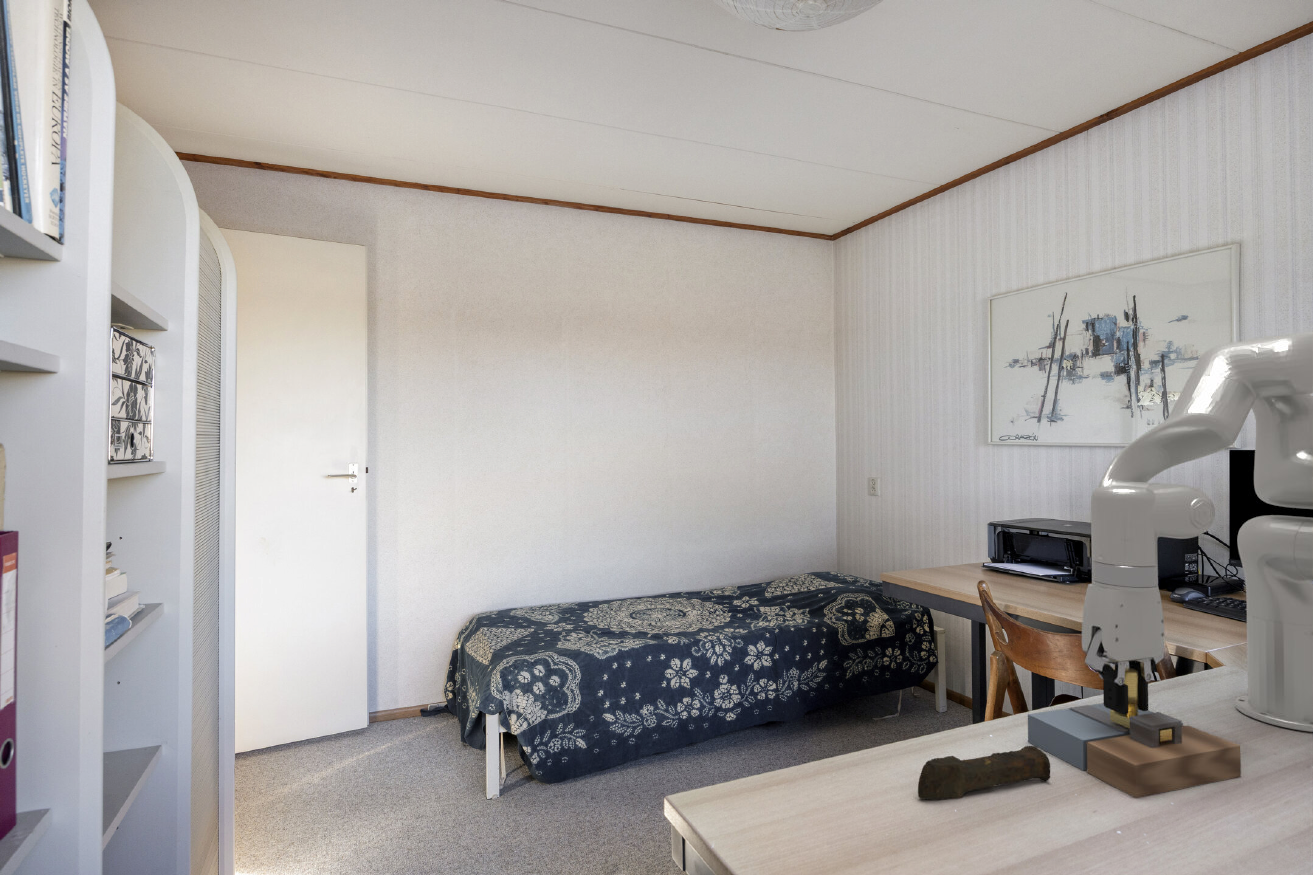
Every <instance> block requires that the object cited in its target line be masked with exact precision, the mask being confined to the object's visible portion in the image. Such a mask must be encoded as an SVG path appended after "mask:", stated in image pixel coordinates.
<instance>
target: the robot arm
mask: <svg viewBox="0 0 1313 875" xmlns="http://www.w3.org/2000/svg"><path fill="white" fill-rule="evenodd" d="M1196 361H1197V362H1196V363H1195V366H1194V367H1193V369H1192V371H1191V373H1190V375H1189V377H1188V379H1187V380H1186V381H1185V384H1184V387H1183V388H1182V390H1181V391H1180V394H1179V396H1178V398H1177V400H1176V402H1175V404H1174V405H1173V407H1172V409H1171V411H1170V413H1169V416H1168V417H1167V418H1166V419H1165V420H1164V421H1163V422H1160V423H1159V424H1157V425H1156V426H1153V427H1152V428H1151V429H1149V430H1147V431H1146V432H1145V433H1143V434H1142V435H1140V436H1139V437H1138V438H1136V439H1134V440H1133V441H1132V442H1130V443H1129V444H1127V445H1126V446H1125V447H1123V448H1122V449H1121V450H1120V451H1119V452H1118V453H1117V454H1116V455H1115V456H1114V458H1113V459H1112V460H1111V461H1110V463H1109V464H1108V466H1107V468H1106V469H1105V472H1104V474H1103V476H1102V478H1101V480H1100V481H1099V483H1098V485H1097V488H1095V489H1094V490H1093V491H1092V493H1091V496H1090V498H1091V500H1090V512H1091V513H1090V519H1091V520H1090V521H1091V522H1090V524H1091V526H1090V527H1091V528H1090V529H1091V534H1090V536H1091V537H1090V538H1091V583H1089V584H1088V585H1087V588H1086V593H1085V597H1084V602H1083V603H1084V604H1083V612H1082V621H1081V622H1082V623H1081V647H1082V651H1083V652H1084V653H1085V654H1086V656H1085V658H1084V663H1085V665H1087V666H1089V667H1091V668H1092V669H1094V670H1096V672H1097V673H1098V675H1099V678H1100V679H1102V682H1103V683H1102V684H1103V686H1102V688H1103V689H1102V690H1103V694H1102V695H1103V698H1102V699H1103V703H1104V706H1105V707H1106V708H1108V709H1111V710H1113V711H1116V712H1118V713H1121V714H1128V685H1126V684H1124V679H1125V667H1127V668H1131V669H1134V670H1136V671H1138V709H1139V710H1141V711H1148V710H1149V682H1151V680H1152V676H1153V675H1152V671H1153V670H1154V669H1155V667H1156V665H1157V664H1158V663H1159V662H1160V661H1162V660H1163V659H1164V657H1165V652H1164V650H1165V640H1166V639H1165V636H1166V635H1165V622H1164V611H1163V604H1162V603H1163V602H1162V598H1161V593H1160V589H1159V577H1158V576H1159V569H1158V568H1159V567H1158V566H1159V564H1158V563H1159V562H1158V538H1161V537H1162V538H1171V539H1180V540H1181V539H1182V540H1183V539H1191V538H1196V537H1198V536H1200V535H1202V534H1205V532H1207V531H1208V530H1209V529H1210V527H1211V526H1212V525H1213V523H1214V520H1215V517H1216V512H1215V510H1216V508H1215V505H1214V503H1213V500H1212V499H1211V498H1210V496H1209V495H1207V493H1206V492H1204V491H1202V490H1201V489H1200V488H1196V487H1194V486H1191V485H1185V484H1177V483H1175V484H1174V483H1159V482H1150V481H1151V480H1152V479H1153V478H1154V477H1155V476H1157V475H1159V474H1160V473H1162V472H1164V471H1165V470H1168V469H1171V468H1173V467H1175V466H1180V465H1182V464H1184V463H1188V462H1191V461H1195V460H1197V459H1198V460H1199V459H1201V458H1204V457H1207V456H1211V455H1213V454H1217V453H1219V452H1221V451H1224V450H1226V449H1227V448H1229V447H1231V446H1232V445H1233V444H1234V443H1235V442H1236V440H1237V438H1238V436H1239V434H1240V432H1241V430H1242V428H1243V426H1244V423H1245V422H1246V419H1248V416H1249V414H1250V411H1251V410H1252V412H1253V414H1254V418H1255V445H1254V446H1255V449H1254V450H1255V451H1254V466H1253V468H1254V469H1253V486H1254V491H1255V494H1256V495H1257V497H1258V498H1259V499H1260V500H1261V501H1263V502H1264V503H1266V504H1269V505H1273V506H1276V507H1277V506H1278V507H1284V508H1292V509H1295V508H1296V509H1304V510H1305V509H1308V510H1309V509H1310V510H1313V395H1312V394H1313V330H1312V331H1305V332H1296V333H1288V334H1287V333H1286V334H1278V335H1271V336H1263V337H1258V338H1256V337H1255V338H1251V339H1247V340H1244V341H1233V342H1227V343H1224V344H1219V345H1215V346H1214V347H1211V348H1209V349H1208V350H1206V351H1205V352H1204V353H1203V354H1202V355H1201V356H1200V357H1199V358H1198V360H1196ZM1237 550H1238V555H1239V558H1240V561H1241V565H1242V571H1243V574H1244V582H1245V593H1246V594H1245V595H1246V596H1245V597H1246V645H1247V646H1246V654H1247V657H1246V658H1247V661H1246V662H1247V694H1246V695H1245V694H1244V695H1241V696H1238V697H1236V699H1235V701H1234V703H1235V707H1236V710H1238V711H1239V712H1241V713H1242V714H1243V715H1246V716H1247V717H1249V718H1252V719H1255V720H1257V721H1260V722H1264V723H1267V724H1270V725H1273V726H1277V727H1280V728H1286V729H1291V730H1297V731H1300V732H1301V731H1302V732H1311V733H1313V517H1309V516H1308V517H1305V516H1293V515H1280V514H1279V515H1278V514H1276V515H1274V514H1271V515H1260V516H1256V517H1253V518H1251V519H1248V520H1247V521H1245V522H1244V523H1243V524H1242V526H1241V527H1240V528H1239V530H1238V534H1237ZM1111 664H1112V665H1114V667H1115V670H1114V669H1113V666H1111Z"/></svg>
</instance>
